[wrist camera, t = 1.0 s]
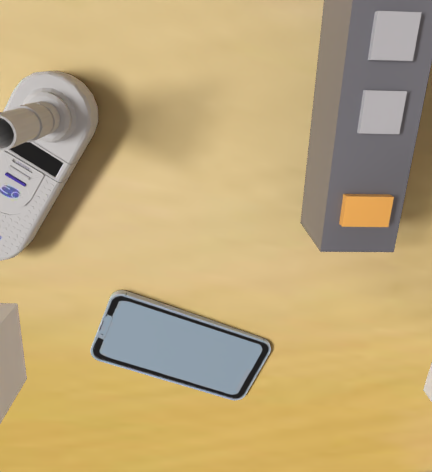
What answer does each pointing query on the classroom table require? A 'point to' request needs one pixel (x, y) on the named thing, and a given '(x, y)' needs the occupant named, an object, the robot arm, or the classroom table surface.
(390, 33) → the power strip
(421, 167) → the classroom table surface
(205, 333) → the smartphone
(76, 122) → the electronic device
